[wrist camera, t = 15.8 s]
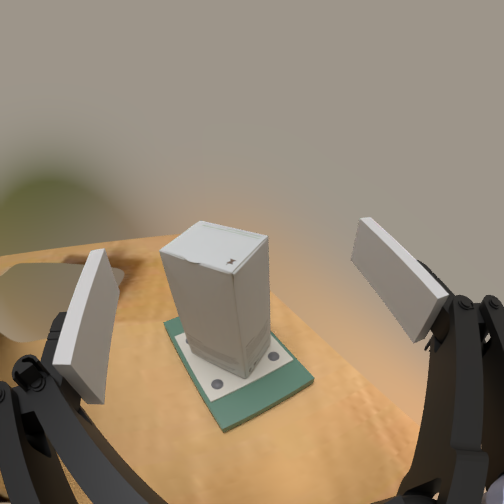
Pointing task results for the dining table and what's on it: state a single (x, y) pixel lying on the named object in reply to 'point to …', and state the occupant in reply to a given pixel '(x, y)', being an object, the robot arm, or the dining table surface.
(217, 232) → the skincare box
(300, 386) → the board
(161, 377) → the dining table surface
